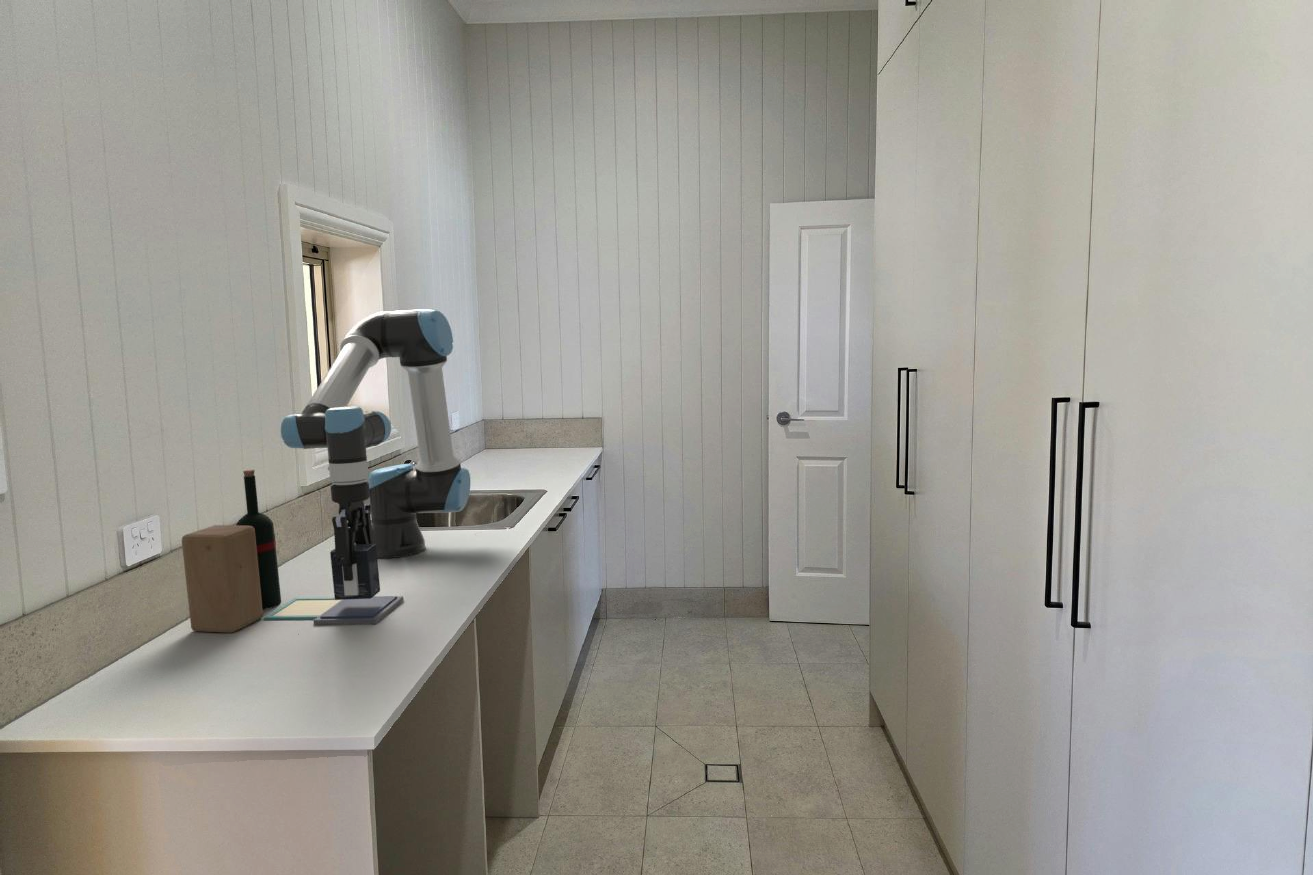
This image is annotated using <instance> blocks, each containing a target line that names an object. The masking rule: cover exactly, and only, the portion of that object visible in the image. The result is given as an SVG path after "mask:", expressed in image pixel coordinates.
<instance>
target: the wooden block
mask: <svg viewBox="0 0 1313 875" xmlns="http://www.w3.org/2000/svg"><path fill="white" fill-rule="evenodd" d="M181 548H182V555H183V556H182V557H183V564H184V574H185V582H186V584H185V585H186V592H187V602H188V612H189V620H190V629H192V630H191V631H193V632H203V633H204V632H205V633H209V632H210V633H231V634H233V633H235V632H237V631H239V630H240V629H242V628H245V627H246V626H248V625H251V624H252V623H254V622H256V621H258V620H260V619H262V618H263V615H264V612H263V611H264V610H263V609H262V599H261V588H260V578H259V568H258V558H257V548H256V537H255V529H254V527H252V526H241V525H236V524H235V525H232V524H231V525H227V524H226V525H224V524H222V525H221V524H220V525H218V524H215V525H212V526H208V527H205V528H203V529H199V530H196V531H193V532H190V533H186V534H184V535H183V536H182V538H181Z"/></svg>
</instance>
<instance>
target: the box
mask: <svg viewBox="0 0 1313 875" xmlns="http://www.w3.org/2000/svg"><path fill="white" fill-rule="evenodd" d="M329 555H330V565H331V566H330V567H331V575H332V584H333V585H332V586H333V593H334V595H333V596H334V597H335V600H346V599H371V598H372V597H374V596H376V595H378V594H379V593H380V592H381V584H380V574H379V572H380V571H379V562H378V558H377V549H376V544H355V552H354V564H357V577H358V589H359V595H347V596H345V593H344V581H343V569H342V565H337V564H336V554H335V548H334V549H332V550H330V553H329Z"/></svg>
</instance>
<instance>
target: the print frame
mask: <svg viewBox="0 0 1313 875" xmlns="http://www.w3.org/2000/svg"><path fill="white" fill-rule="evenodd" d="M340 601H341V600H335V597H333V596H332V597H293V598H292V599H291V600H289V601H288V602H286V603H284V604H283V605H282V606H280V607H278V608H277V609H275V610H273V611H272V612H270V613H269V614H267V615H265V616H264V617H263V620H265V621H268V620H269V621H271V620H272V621H273V620H275V621H276V620H277V621H279V620H280V621H281V620H314V619H316V618H317V617H319V616H320V615H321V614H323V613H324V612H326V611H327V610H328V609H330V608H331V607H333V606H334V605H336V604H337V603H338V602H340Z"/></svg>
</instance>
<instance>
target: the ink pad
mask: <svg viewBox="0 0 1313 875" xmlns="http://www.w3.org/2000/svg"><path fill="white" fill-rule="evenodd" d="M401 603H404V596H403V595H402V596H398V595H395V596H394V595H385V596H384V595H383V596H382V595H380V596H378V595H377V596H376V595H375V596H374V597H372V598H371V599H346V600H341V601H340V602H338V603H337V604H336V605H334V606H333V607H331V608H330V609H328V610H327V611H326V612H324V613H323V614H321V615H320V616H319V617H317V618H316V619H313V626H324V625H325V626H327V625H328V626H335V625H336V626H337V625H340V626H342V625H345V626H346V625H377V624H378V623H379V622H380V621H382V620H383V619H384V618H385V617H386V616H387V615H389V614H390V613H391V612H392V611H394V610H395V609H396V608H397V607H398V606H399V605H400V604H401Z"/></svg>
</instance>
